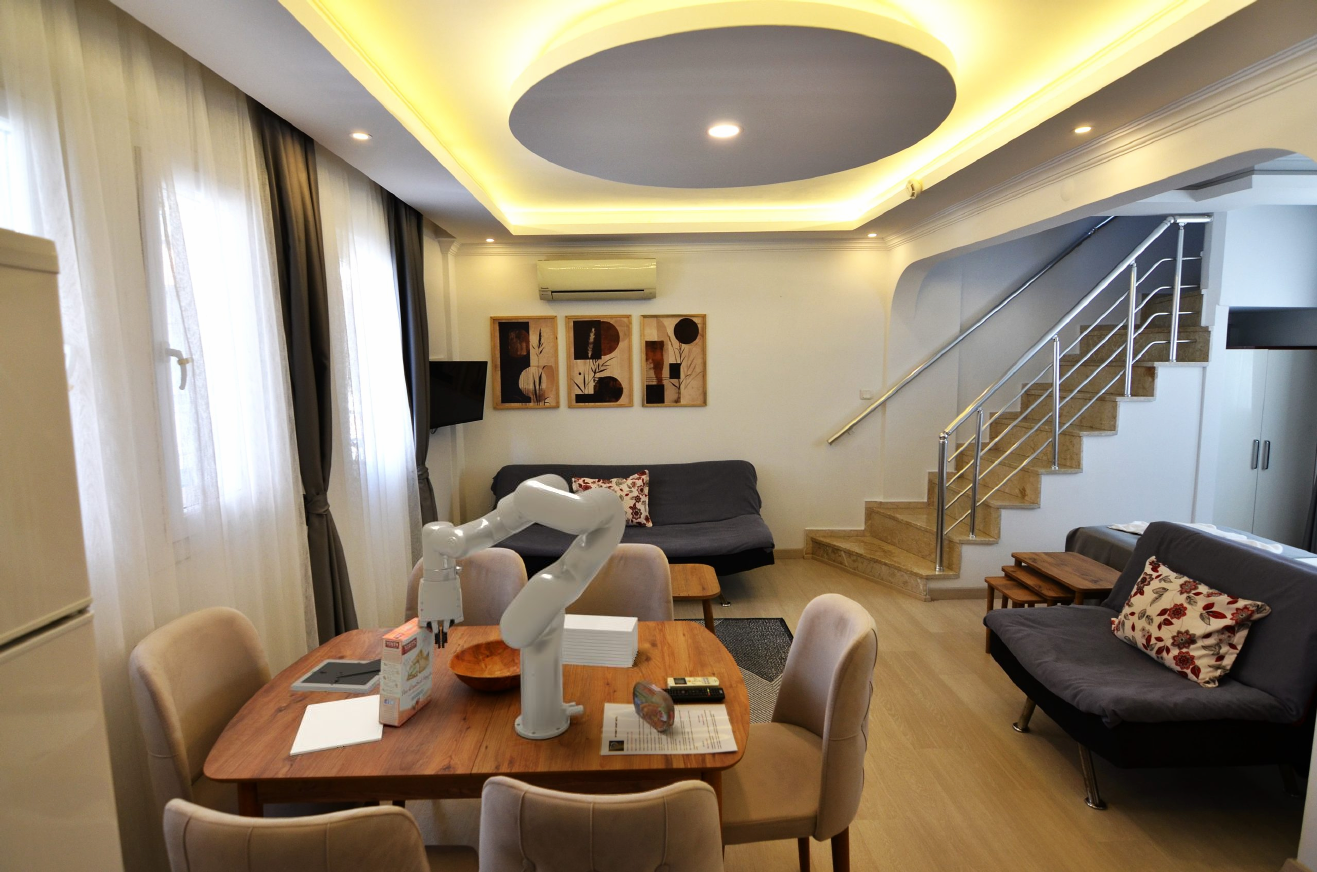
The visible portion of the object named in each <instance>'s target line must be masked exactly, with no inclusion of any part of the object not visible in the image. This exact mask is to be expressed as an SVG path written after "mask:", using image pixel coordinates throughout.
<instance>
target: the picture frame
mask: <svg viewBox="0 0 1317 872" xmlns="http://www.w3.org/2000/svg"><path fill="white" fill-rule="evenodd" d="M380 675H381V658H378V659H375V660H355V659H353V660H352V659H325V660H324V661H321V662H320V663H319V664H318V665H317V666H315V667H314V668H312V669H311V670H310V671H309V672H307V673H305V674H304V675H303V676H301V677H300V678H299V679H297V680H296V681H294V683H291V684H290V691H291V690H292V691H291V692H309V691H327V692H326V693H334V692H350V693H349V694H359V693H364V695H368V694H369V693H370V692H371V691H373V690H374V689H375V688H376V687H377V686H378V685H380ZM293 690H294V691H293ZM328 691H329V692H328Z"/></svg>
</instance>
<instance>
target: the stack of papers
mask: <svg viewBox="0 0 1317 872" xmlns="http://www.w3.org/2000/svg"><path fill="white" fill-rule="evenodd" d="M638 623H639V622H638V617H633V616H629V617H628V616H611V615H610V616H609V615H591V614H590V615H588V614H586V615H585V614H570V613H569V614H566V613H565V623H564V630H563V639H562V665H576V666H577V665H578V666H592V667H593V666H595V667H611V668H612V667H614V668H627V667H632V668H633V666H634V663H635V661H636V658H635V657H637V655H636V654H638V653H637V651H638V650H639V647H638V646H639V645H638V644H639V643H638V642H639V641H638V635H639V633H638V630H639V628H638V627H639V624H638ZM638 652H639V651H638ZM634 660H635V661H634ZM632 665H633V666H632Z"/></svg>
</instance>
